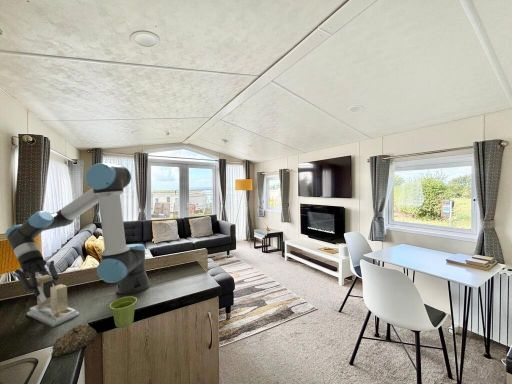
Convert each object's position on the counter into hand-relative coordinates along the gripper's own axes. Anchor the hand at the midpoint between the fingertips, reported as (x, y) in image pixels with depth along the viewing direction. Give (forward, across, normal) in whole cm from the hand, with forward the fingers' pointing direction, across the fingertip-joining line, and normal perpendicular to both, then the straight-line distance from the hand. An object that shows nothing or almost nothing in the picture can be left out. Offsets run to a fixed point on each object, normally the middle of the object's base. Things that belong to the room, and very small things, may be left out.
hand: (50, 298), depth 96 cm
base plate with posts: (+6, 0, -4) cm, 7 cm away
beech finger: (0, 0, -5) cm, 5 cm away
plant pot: (+29, -8, +20) cm, 36 cm away
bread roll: (+25, +6, +15) cm, 30 cm away
